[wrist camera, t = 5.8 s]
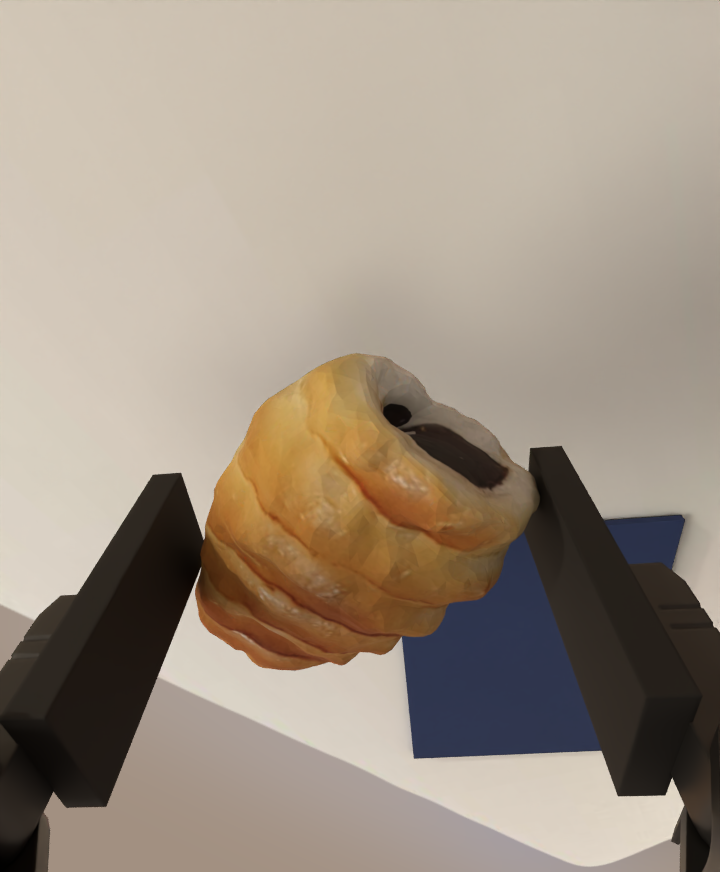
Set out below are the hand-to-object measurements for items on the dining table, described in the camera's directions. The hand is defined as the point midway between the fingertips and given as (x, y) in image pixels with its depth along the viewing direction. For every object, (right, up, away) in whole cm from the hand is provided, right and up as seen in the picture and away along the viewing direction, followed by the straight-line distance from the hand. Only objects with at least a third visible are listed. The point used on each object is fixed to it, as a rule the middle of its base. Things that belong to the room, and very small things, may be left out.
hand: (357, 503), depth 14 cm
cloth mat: (+10, -11, +17) cm, 23 cm away
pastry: (0, 0, 0) cm, 1 cm away
